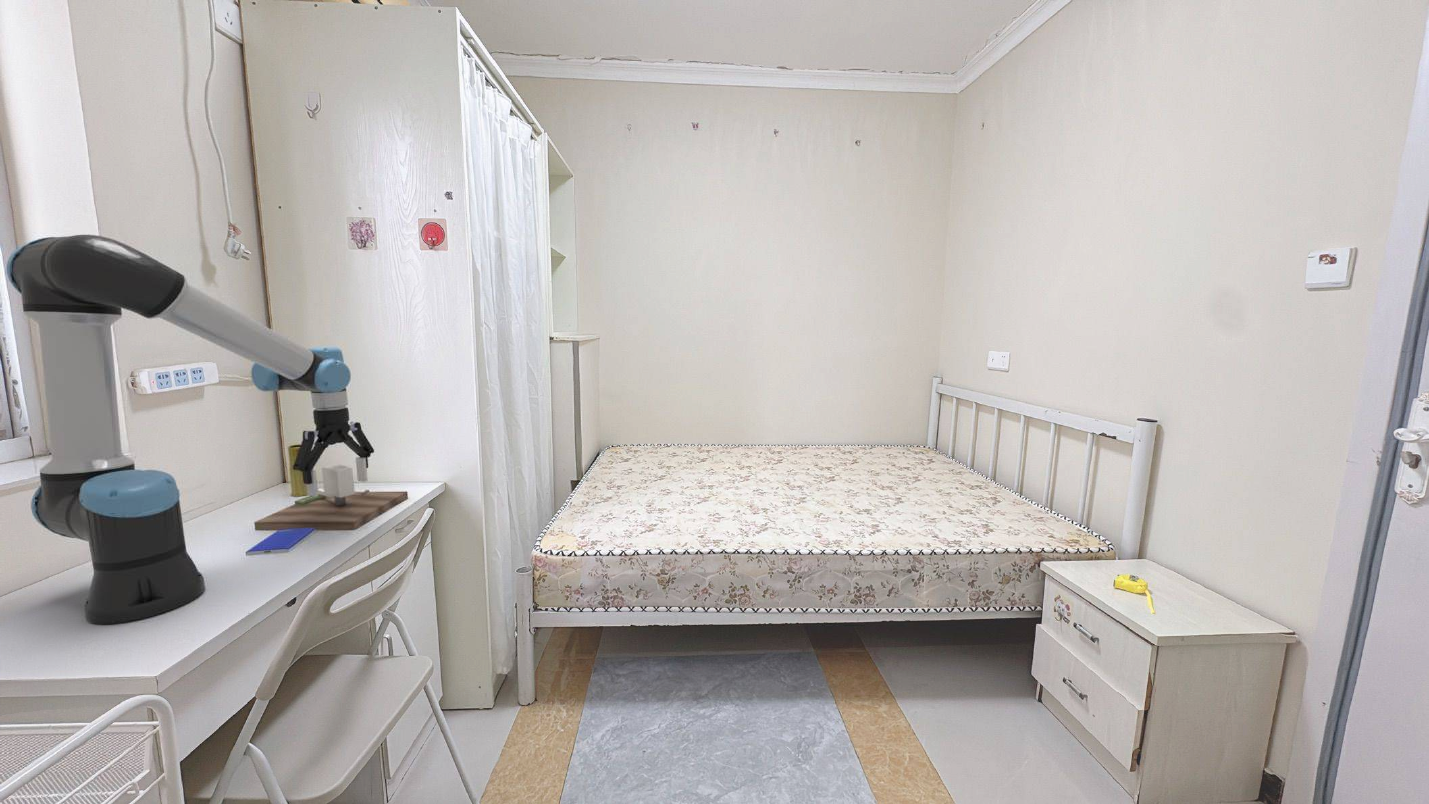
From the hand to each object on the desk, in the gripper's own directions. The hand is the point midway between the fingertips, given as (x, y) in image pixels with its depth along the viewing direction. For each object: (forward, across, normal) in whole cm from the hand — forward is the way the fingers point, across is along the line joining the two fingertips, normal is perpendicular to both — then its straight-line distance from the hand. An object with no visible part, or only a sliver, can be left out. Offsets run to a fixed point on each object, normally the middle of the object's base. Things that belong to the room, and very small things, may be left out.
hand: (339, 488), depth 147 cm
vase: (+7, -9, -26) cm, 29 cm away
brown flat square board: (+7, 0, -1) cm, 7 cm away
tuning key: (+4, -1, -4) cm, 6 cm away
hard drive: (+8, +19, +6) cm, 21 cm away
